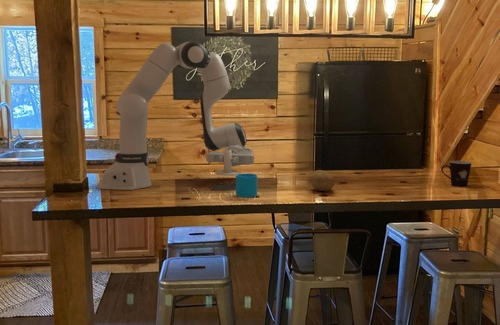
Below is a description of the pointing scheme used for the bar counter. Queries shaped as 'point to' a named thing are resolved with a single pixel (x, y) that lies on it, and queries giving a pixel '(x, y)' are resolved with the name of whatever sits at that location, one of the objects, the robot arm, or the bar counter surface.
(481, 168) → the bar counter surface
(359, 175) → the bar counter surface
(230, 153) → the white post stand
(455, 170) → the coffee mug
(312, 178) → the potato
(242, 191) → the mug
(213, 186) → the mat
